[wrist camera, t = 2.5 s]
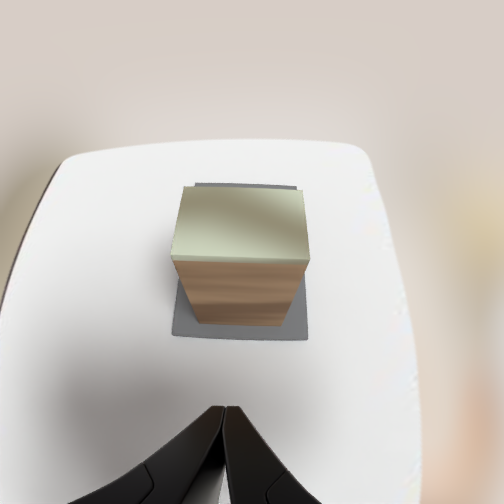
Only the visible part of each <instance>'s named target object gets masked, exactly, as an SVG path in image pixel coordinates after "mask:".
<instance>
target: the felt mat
mask: <svg viewBox="0 0 504 504" xmlns="http://www.w3.org/2000/svg"><path fill="white" fill-rule="evenodd" d="M195 187H241V188H268V189H287V190H297V187H296V186H283V185H263V184H235V183H195ZM172 335H173V336H183V337H197V338H214V339H235V340H307V339H308V324H307V305H306V289H305V274H304V275H303V277H302V280H301V282H300V284H299V287H298V289H297V291H296V294H295V296H294V298H293V301H292V303H291V305H290V307H289V310H288V312H287V314H286V316H285V319H284V321H283V323H282V325H281V326H242V325H217V324H199V321H198V319H197V317H196V315H195V312H194V310H193V308H192V306H191V303H190V301H189V299H188V296H187V294H186V292H185V289H184V287H183V285H182V282H181V280H180V277H179V282H178V289H177V296H176V304H175V312H174V320H173V329H172Z"/></svg>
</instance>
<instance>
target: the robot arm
mask: <svg viewBox="0 0 504 504" xmlns="http://www.w3.org/2000/svg"><path fill="white" fill-rule="evenodd" d="M143 463H144V464H143ZM143 463H140V464H139V465H137V466H136V467H135V468H133V469H132V470H130V471H129V472H127V473H126V474H124V475H123V476H121V477H120V478H118V479H117V480H115V481H113V482H111V483H109V484H108V485H106V486H104V487H102V488H100V489H98V490H96V491H94V492H92V493H90V494H88V495H86V496H83V497H81V498H79V499H77V500H75V501H72V502H70V503H68V504H218V500H219V495H220V490H221V486H222V481H223V477H224V472H225V466H226V474H227V481H228V489H229V496H230V502H231V504H322V503H321V502H319V501H318V500H317V499H316V498H315V497H314V496H312V495H311V494H310V493H309V492H308V491H307V490H306V489H305V488H304V487H303V486H302V485H301V484H300V483H299V482H298V481H297V480H296V478H295V477H294V476H293V475H292V474H291V472H290V471H288V470H287V468H286V467H285V466H284V465H283V463H282V462H281V461H280V460H279V458H278V457H277V456H276V455H275V453H274V452H273V451H272V449H271V448H270V447H269V446H268V444H267V443H266V442H265V440H264V439H263V438H262V436H261V435H260V434H259V432H258V431H257V430H256V428H255V427H254V426H253V424H252V423H251V422H250V420H249V419H248V417H247V416H246V415H245V413H244V412H243V410H242V409H241V408H240V407H239V406H227V407H226V408H225V407H224V406H211V407H210V408H208V409H207V410H206V411H205V412H204V413H203V414H202V415H200V416H199V417H198V418H197V419H196V420H195V421H193V422H192V423H191V424H190V425H189V426H187V427H186V428H185V429H184V430H183V431H181V432H180V433H179V434H178V435H177V436H175V437H174V438H173V439H172V440H170V441H169V442H168V443H167V444H165V445H164V446H163V447H162V448H160V449H159V450H158V451H157V452H155V453H154V454H153V455H151V456H150V457H149V458H147V459H146V460H145V461H144V462H143Z"/></svg>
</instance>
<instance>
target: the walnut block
mask: <svg viewBox="0 0 504 504" xmlns="http://www.w3.org/2000/svg"><path fill="white" fill-rule="evenodd" d="M170 255H171V258H172V260H173V263H174V265H175V268H176V270H177V273H178V275H179V277H180V280H181V282H182V285H183V287H184V289H185V292H186V294H187V296H188V299H189V301H190V303H191V306H192V308H193V310H194V312H195V315H196V317H197V319H198V321H199V324H217V325H242V326H281V325H282V323H283V321H284V319H285V316H286V314H287V312H288V310H289V307H290V305H291V303H292V301H293V298H294V296H295V294H296V291H297V289H298V287H299V284H300V282H301V280H302V277H303V275H304V273H305V270H306V268H307V265H308V263H309V261H310V254H309V243H308V233H307V224H306V215H305V206H304V198H303V190H287V189H268V188H241V187H184V190H183V194H182V199H181V203H180V208H179V213H178V217H177V222H176V227H175V232H174V237H173V243H172V248H171V253H170Z"/></svg>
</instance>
